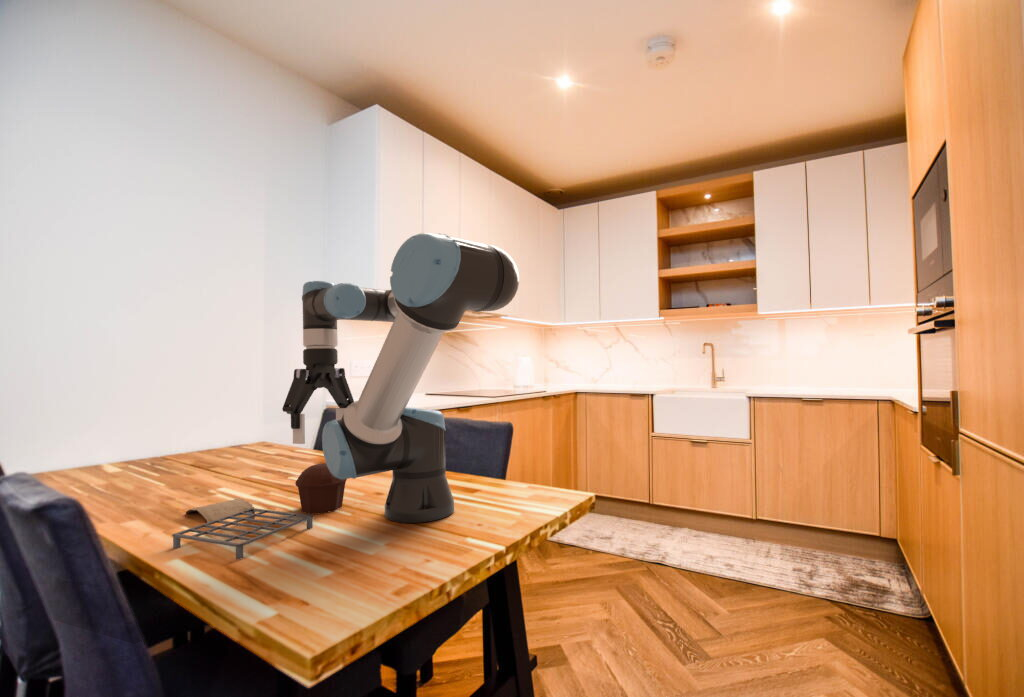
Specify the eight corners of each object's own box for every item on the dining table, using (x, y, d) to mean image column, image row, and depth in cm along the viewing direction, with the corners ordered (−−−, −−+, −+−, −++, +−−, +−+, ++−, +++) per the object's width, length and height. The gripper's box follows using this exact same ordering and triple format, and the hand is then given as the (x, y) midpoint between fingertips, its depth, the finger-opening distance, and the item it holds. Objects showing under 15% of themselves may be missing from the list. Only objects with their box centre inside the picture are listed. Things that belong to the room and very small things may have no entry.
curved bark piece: (258, 515, 110) (258, 503, 110) (209, 527, 102) (209, 514, 102) (229, 505, 119) (229, 494, 119) (182, 516, 111) (182, 504, 111)
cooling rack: (313, 527, 99) (313, 515, 99) (239, 559, 83) (239, 545, 83) (252, 519, 105) (252, 508, 105) (172, 548, 89) (172, 534, 89)
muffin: (287, 508, 113) (287, 465, 113) (334, 498, 121) (333, 458, 121) (308, 519, 104) (307, 472, 105) (356, 508, 112) (355, 464, 112)
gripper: (344, 349, 127) (345, 431, 126) (263, 347, 103) (264, 447, 103) (367, 348, 124) (368, 432, 123) (290, 345, 101) (291, 448, 100)
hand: (321, 439), depth 113 cm, fingers open, 13 cm apart
